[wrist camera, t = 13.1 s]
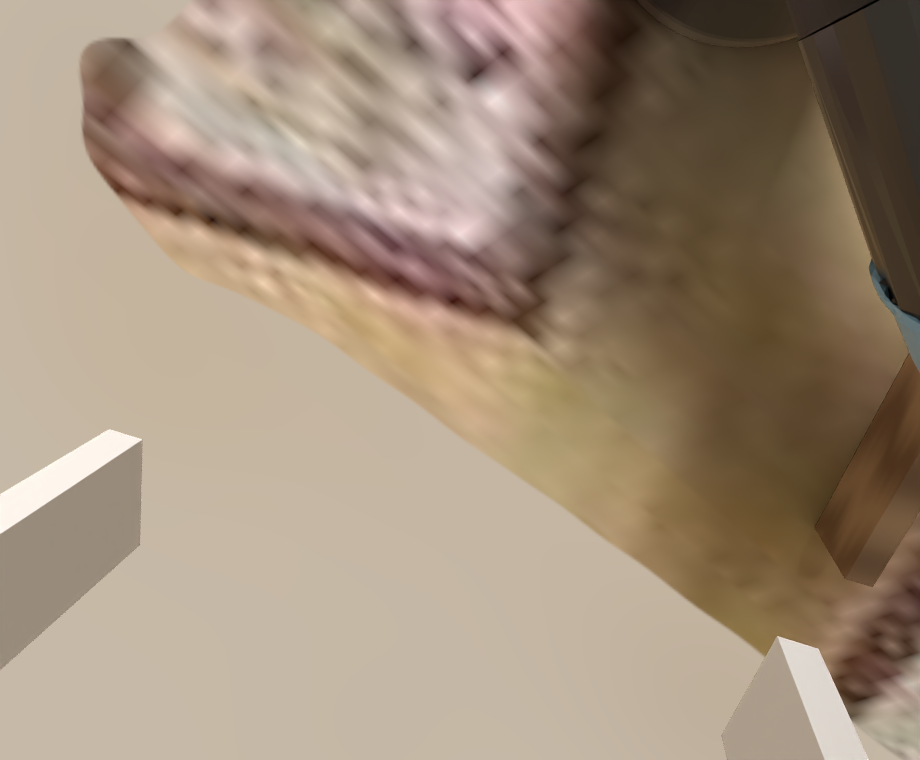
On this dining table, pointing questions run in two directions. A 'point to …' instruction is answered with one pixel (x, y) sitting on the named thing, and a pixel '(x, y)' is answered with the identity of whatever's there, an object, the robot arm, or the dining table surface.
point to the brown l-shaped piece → (878, 486)
